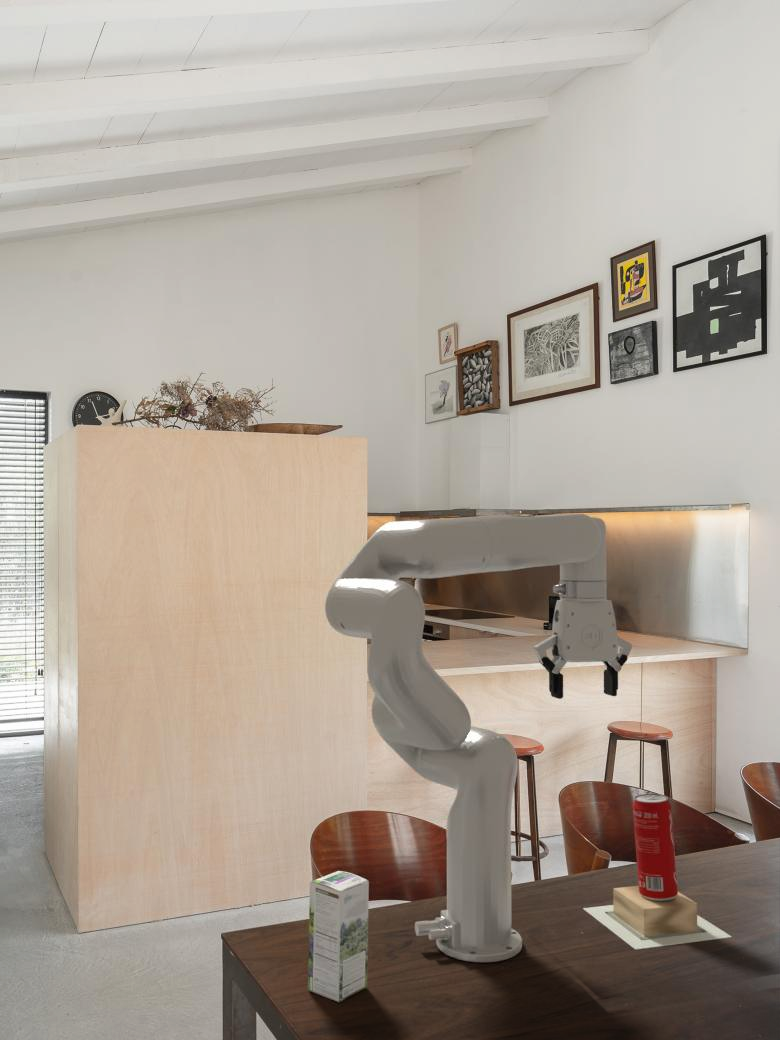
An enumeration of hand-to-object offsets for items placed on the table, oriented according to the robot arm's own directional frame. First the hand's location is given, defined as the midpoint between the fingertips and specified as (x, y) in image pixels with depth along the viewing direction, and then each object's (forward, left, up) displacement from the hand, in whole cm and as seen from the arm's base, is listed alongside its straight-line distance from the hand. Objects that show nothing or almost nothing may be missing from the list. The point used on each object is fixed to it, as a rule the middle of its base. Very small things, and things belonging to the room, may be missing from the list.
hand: (583, 696), depth 154 cm
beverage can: (+6, -11, -29) cm, 32 cm away
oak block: (+6, -11, -33) cm, 35 cm away
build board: (+6, -11, -34) cm, 37 cm away
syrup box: (-45, -17, -34) cm, 59 cm away
